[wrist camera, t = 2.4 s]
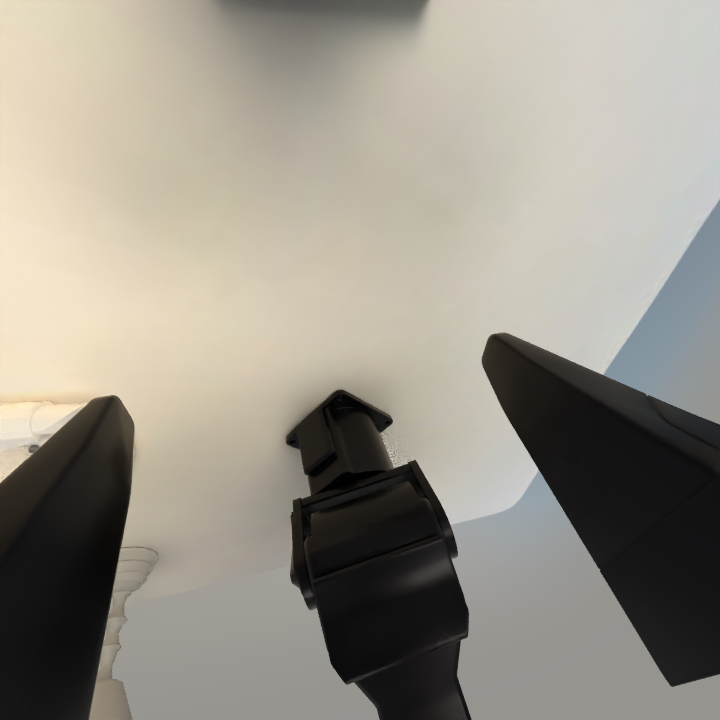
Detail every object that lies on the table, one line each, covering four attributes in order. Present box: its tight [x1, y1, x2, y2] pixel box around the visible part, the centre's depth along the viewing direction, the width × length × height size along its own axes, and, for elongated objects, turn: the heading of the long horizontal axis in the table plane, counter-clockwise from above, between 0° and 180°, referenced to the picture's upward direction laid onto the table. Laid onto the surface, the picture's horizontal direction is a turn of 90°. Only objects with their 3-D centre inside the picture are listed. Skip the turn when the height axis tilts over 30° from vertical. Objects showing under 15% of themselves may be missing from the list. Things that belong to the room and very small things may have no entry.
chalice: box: [89, 547, 158, 720], centre depth 27 cm, size 7×7×18 cm
